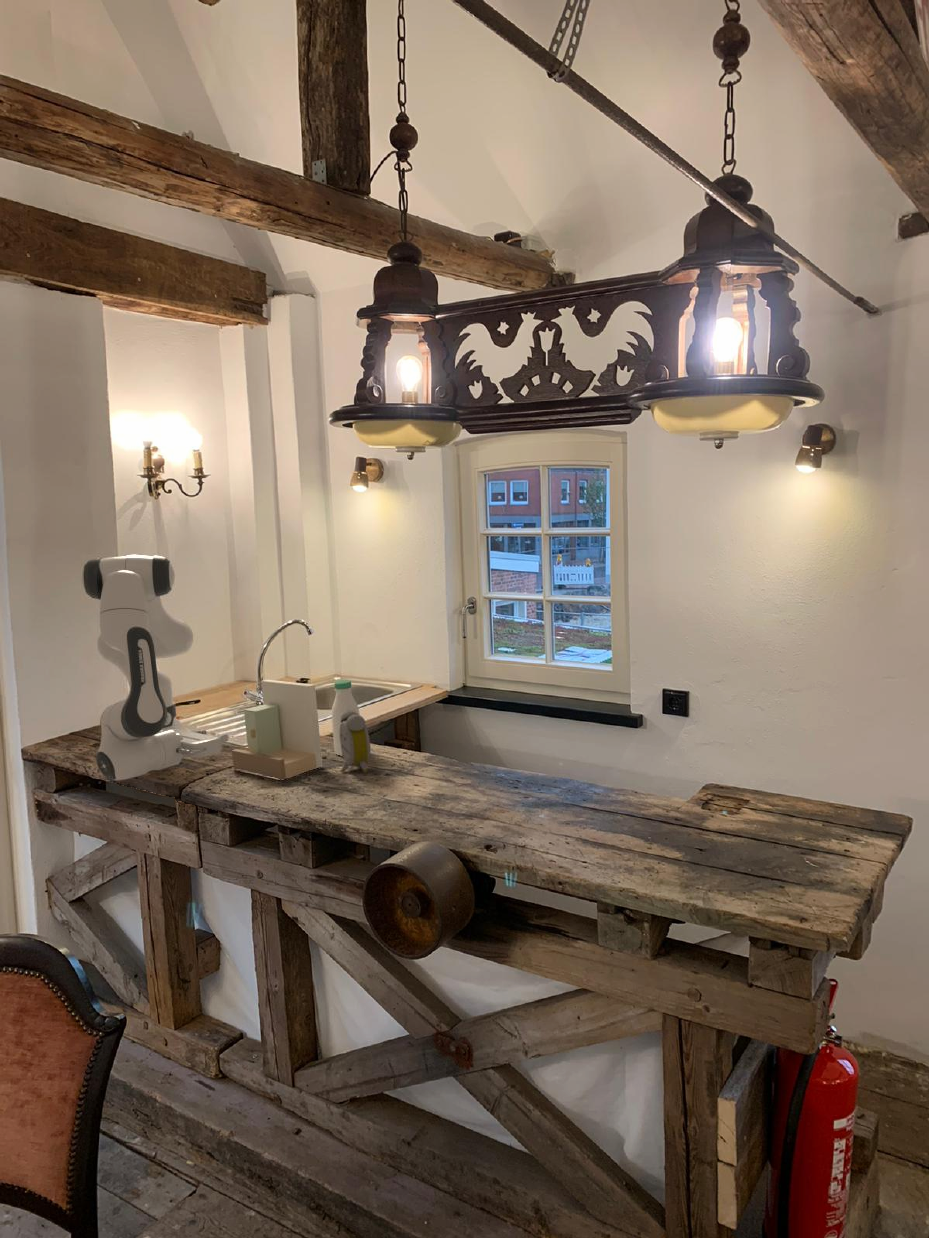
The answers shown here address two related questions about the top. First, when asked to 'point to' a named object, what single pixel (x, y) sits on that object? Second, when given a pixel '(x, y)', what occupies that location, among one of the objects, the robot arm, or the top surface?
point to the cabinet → (263, 729)
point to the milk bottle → (341, 710)
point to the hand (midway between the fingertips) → (215, 734)
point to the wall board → (288, 732)
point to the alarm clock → (354, 740)
